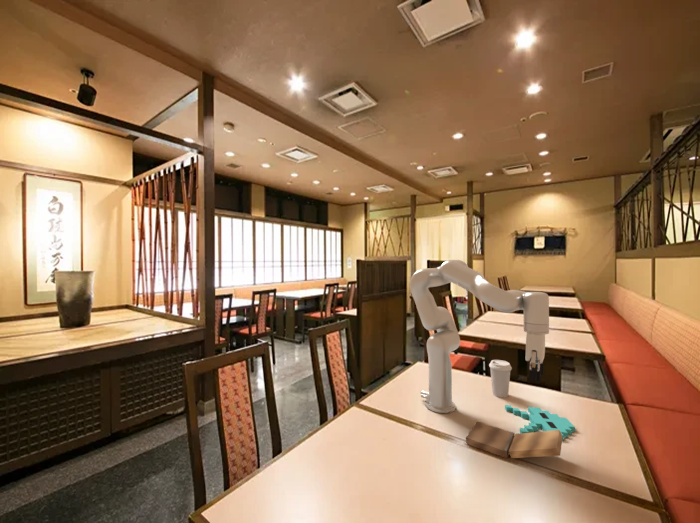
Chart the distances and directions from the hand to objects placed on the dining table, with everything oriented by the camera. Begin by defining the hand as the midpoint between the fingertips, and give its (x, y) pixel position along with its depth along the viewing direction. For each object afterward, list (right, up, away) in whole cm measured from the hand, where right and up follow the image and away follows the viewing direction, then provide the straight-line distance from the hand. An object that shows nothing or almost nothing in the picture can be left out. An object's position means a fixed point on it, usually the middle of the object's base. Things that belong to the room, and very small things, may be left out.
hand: (536, 377), depth 104 cm
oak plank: (-5, -19, -8) cm, 21 cm away
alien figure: (+9, -23, +11) cm, 27 cm away
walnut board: (-16, -22, 0) cm, 27 cm away
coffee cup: (+6, -22, +36) cm, 43 cm away
